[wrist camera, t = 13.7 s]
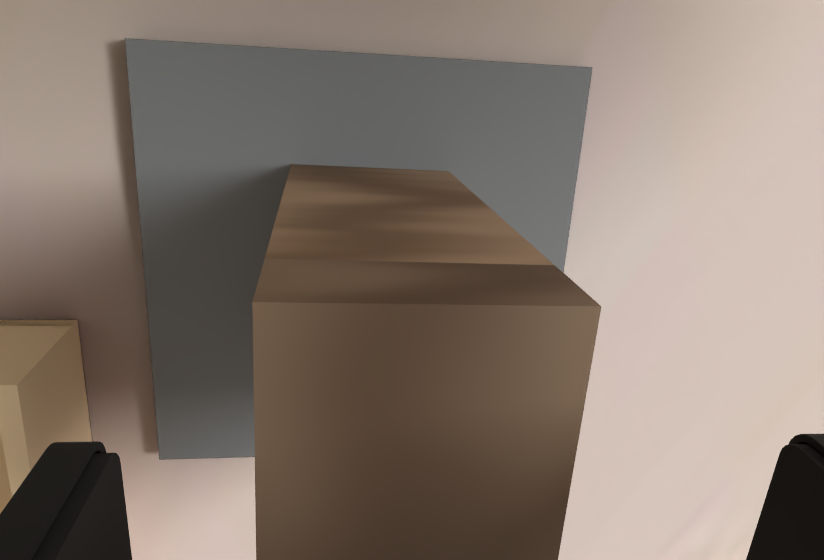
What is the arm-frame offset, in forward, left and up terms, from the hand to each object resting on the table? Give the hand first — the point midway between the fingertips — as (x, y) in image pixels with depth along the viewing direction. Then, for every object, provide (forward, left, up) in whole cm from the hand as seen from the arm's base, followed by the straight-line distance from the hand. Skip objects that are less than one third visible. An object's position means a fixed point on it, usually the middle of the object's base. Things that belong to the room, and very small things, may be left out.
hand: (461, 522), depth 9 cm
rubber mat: (+1, +1, -14) cm, 14 cm away
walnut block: (0, +1, -13) cm, 13 cm away
